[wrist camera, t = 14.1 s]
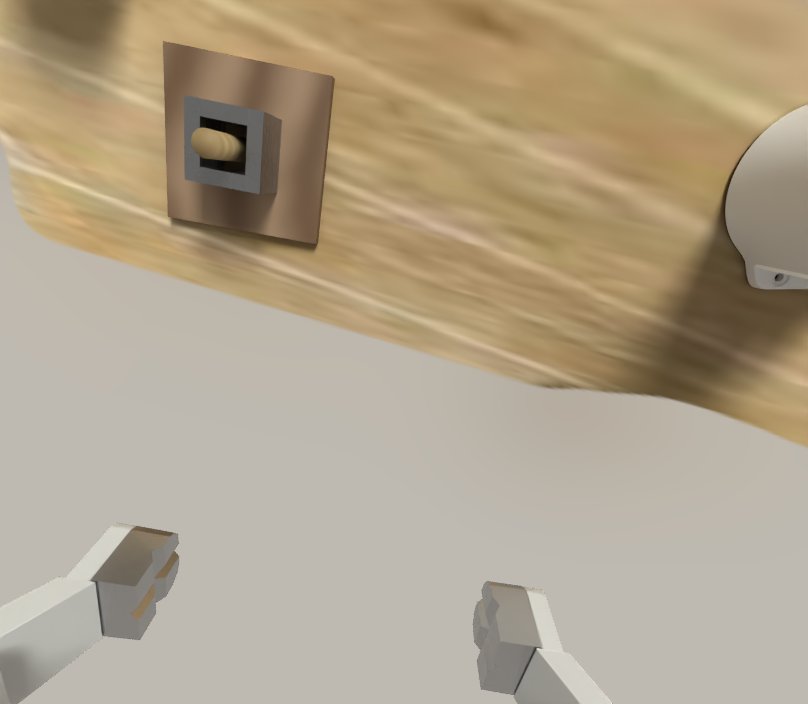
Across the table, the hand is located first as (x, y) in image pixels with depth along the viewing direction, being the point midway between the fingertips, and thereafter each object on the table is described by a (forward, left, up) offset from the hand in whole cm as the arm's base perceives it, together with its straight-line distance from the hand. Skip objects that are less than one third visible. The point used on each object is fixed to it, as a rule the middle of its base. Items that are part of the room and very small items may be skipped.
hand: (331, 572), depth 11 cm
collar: (+15, -10, -33) cm, 38 cm away
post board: (+15, -10, -34) cm, 38 cm away
